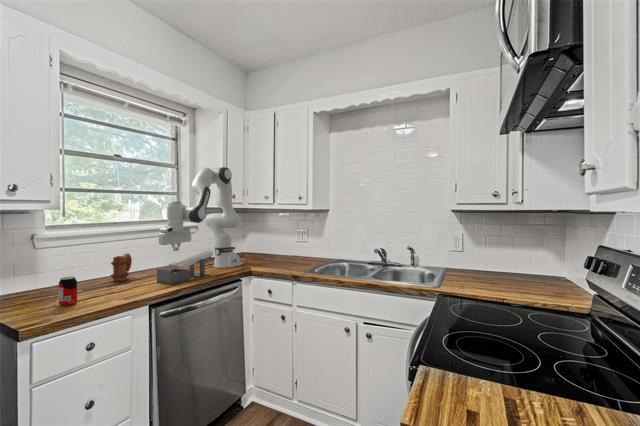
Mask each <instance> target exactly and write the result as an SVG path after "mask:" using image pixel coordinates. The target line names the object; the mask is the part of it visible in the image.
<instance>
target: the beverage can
mask: <svg viewBox="0 0 640 426" xmlns="http://www.w3.org/2000/svg"><path fill="white" fill-rule="evenodd" d="M77 303H78V281H77V279H76V276H65V277H61V278H60V279H59V282H58V305H59V306H60V307H70V306H74V305H76V304H77Z"/></svg>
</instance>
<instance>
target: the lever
mask: <svg viewBox="0 0 640 426" xmlns="http://www.w3.org/2000/svg"><path fill="white" fill-rule="evenodd" d="M213 254H214V252H213V251H212V249H204V251H202V252H199V253H196V254H194V255H191V256H189V257H187V258H184V259H183V260H179V261H172V262H169V263H168V266H169V267H170V266H171V267H175V268H179V269H185V268H189V266H190V265H192V264H194V265H195V264H197V263H198V264H200V259H205V264H206V263H209V262H211V261H212V260H213V257H212V256H214V255H213Z"/></svg>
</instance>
